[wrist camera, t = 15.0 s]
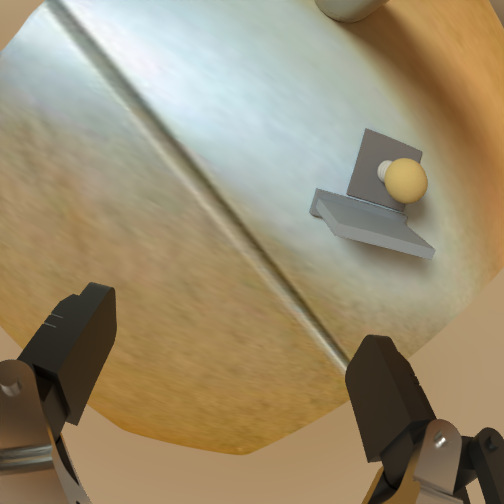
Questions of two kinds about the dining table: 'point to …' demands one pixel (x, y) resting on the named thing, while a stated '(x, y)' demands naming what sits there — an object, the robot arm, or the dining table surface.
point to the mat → (367, 164)
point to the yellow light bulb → (403, 179)
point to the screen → (368, 224)
